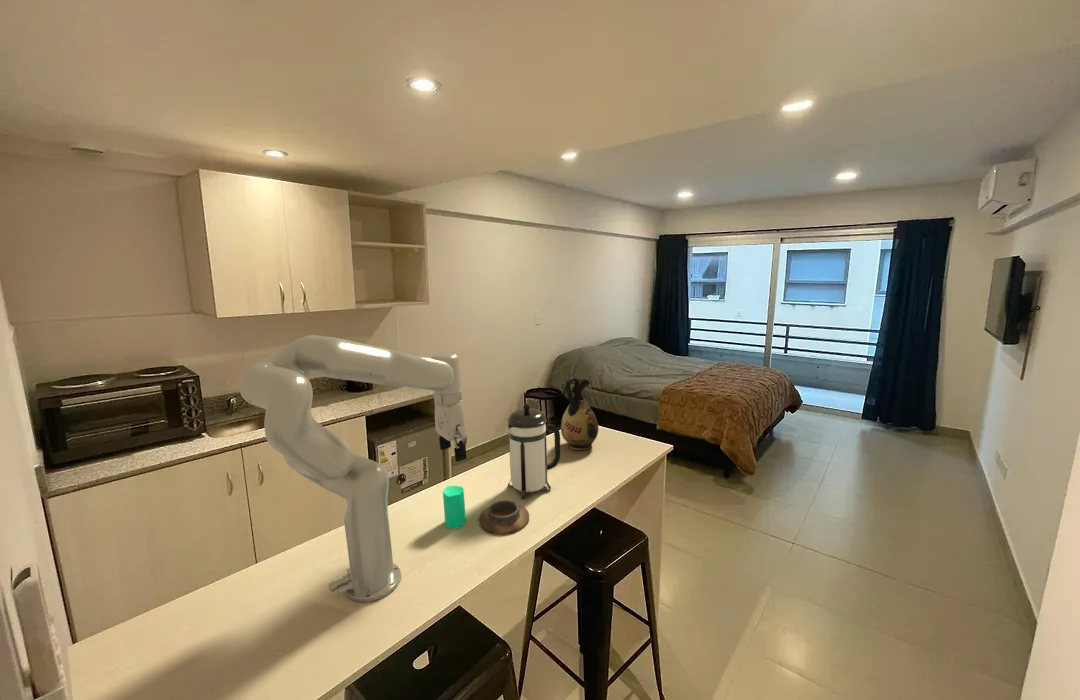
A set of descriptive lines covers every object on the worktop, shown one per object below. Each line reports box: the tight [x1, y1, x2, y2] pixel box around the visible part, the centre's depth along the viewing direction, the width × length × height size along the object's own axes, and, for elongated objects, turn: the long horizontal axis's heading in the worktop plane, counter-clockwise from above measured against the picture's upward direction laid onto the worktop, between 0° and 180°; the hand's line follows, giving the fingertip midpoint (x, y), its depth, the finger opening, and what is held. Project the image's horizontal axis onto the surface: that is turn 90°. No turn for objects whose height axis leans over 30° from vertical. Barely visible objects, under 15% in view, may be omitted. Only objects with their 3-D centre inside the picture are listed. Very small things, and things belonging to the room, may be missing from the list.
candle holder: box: [478, 499, 530, 536], centre depth 130 cm, size 15×15×4 cm
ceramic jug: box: [560, 376, 599, 454], centre depth 178 cm, size 17×15×30 cm
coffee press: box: [505, 403, 561, 500], centre depth 146 cm, size 17×16×30 cm
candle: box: [442, 485, 467, 530], centre depth 128 cm, size 6×6×12 cm
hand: (453, 454), depth 125 cm, fingers open, 9 cm apart
